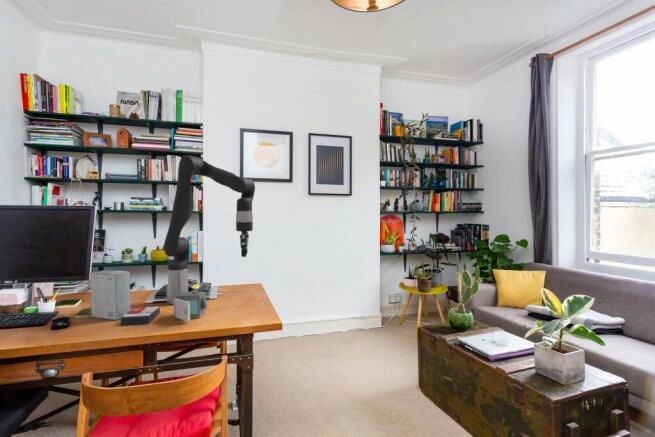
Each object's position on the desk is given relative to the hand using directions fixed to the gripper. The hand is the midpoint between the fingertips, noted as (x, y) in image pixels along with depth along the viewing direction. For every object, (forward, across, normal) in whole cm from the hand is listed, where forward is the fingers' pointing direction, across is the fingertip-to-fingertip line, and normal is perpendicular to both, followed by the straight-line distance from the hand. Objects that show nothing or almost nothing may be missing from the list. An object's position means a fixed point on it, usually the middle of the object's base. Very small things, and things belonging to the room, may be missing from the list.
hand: (244, 255), depth 158 cm
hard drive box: (+27, -3, -58) cm, 65 cm away
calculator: (+27, +4, -44) cm, 52 cm away
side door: (+25, +11, -25) cm, 37 cm away
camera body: (+26, +4, -23) cm, 35 cm away
